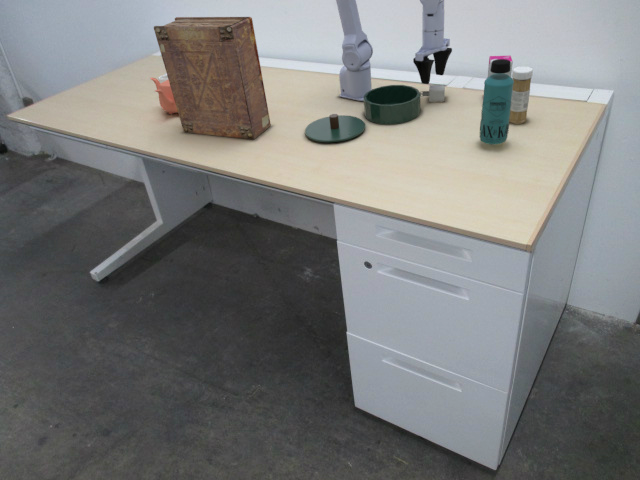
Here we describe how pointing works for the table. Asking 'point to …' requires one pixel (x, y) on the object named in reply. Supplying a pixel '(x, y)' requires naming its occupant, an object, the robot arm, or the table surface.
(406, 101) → the pot
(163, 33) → the book
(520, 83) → the sprinkles bottle
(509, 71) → the supplement box
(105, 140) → the table surface
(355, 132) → the lid
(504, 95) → the beverage bottle
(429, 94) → the usb wall charger
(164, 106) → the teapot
